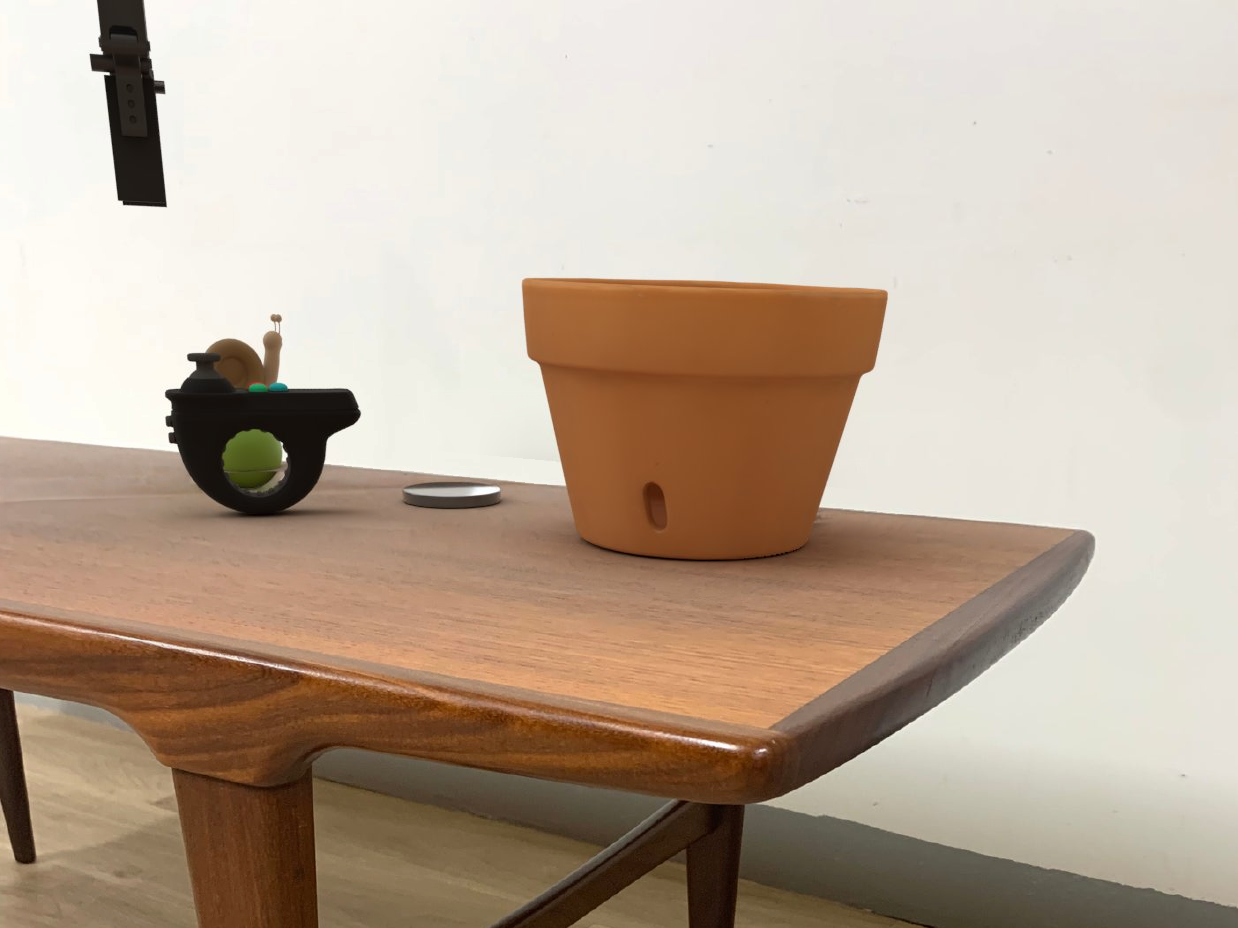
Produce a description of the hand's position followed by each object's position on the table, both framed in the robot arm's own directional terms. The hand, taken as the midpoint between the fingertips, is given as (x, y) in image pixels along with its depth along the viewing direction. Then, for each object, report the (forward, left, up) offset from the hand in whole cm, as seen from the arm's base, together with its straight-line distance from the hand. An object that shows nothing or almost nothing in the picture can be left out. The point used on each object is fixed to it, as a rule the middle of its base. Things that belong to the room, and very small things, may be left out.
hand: (143, 203), depth 82 cm
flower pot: (+31, -19, -19) cm, 41 cm away
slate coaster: (+19, -1, -19) cm, 26 cm away
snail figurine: (+5, +7, -19) cm, 21 cm away
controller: (+6, -4, -19) cm, 20 cm away
